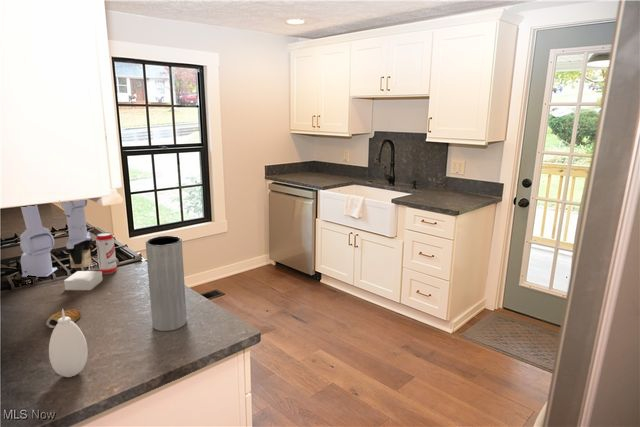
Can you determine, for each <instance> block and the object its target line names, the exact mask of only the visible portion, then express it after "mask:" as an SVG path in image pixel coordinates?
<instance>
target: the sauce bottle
mask: <svg viewBox="0 0 640 427" xmlns="http://www.w3.org/2000/svg"><path fill="white" fill-rule="evenodd" d="M61 311H62V318H60V319H58V324H57V325H56V326H55V328H53V330H52V332H51V335H50V338H49V345H48V357H49V362H50V364H51V367H52V369H53V370H54V371H55V372H56V374H58V375H60V376H61V377H65V378H71V377H72V376H73V377H75V376H77V375H78V374H80V372H81V371H82V370H83V369H84V367H85V365H86V363H87V360H88V355H89V354H88V352H89V350H88V343H87V340H86V337H85V335H84V333H83V331H82V330H81V329H80V328H79V327H80V326H78V325H77V323H76V322H73V321H71V318H70V317H65V314H64V311H65V310H64V308H62V309H61ZM73 377H72V378H73Z"/></svg>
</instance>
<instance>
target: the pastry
mask: <svg viewBox="0 0 640 427" xmlns="http://www.w3.org/2000/svg"><path fill="white" fill-rule="evenodd" d="M64 314H65V317H70V318H71V321H73V322H74V323H76V322H77V321H78V320H79V319H80V318H81V315H82V314H81V310H79V309H76V308H71V309H66V310H64ZM60 318H62V310H61V311H57V312H56V313H53V314H51V315H50V316H49V317H48V318H47V320H46V322H45V324H46V326H47V327H48V328H50V329H54V328H55V326H56V325H57V324H58V319H60Z"/></svg>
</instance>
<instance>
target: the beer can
mask: <svg viewBox="0 0 640 427" xmlns="http://www.w3.org/2000/svg"><path fill="white" fill-rule="evenodd" d="M95 243H96V244H95V245H96V253H97V261H98V271H102V275H111V274H113V273H115V272H116V271H117V269H118V267H117V258H116V249H115V247H116V246H115V239H114V236H113V235H112V232H111V231H110V232H109V231H106V232H100V233H97V234H96V238H95Z"/></svg>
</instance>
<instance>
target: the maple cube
mask: <svg viewBox="0 0 640 427" xmlns="http://www.w3.org/2000/svg"><path fill="white" fill-rule="evenodd" d="M69 261H70V262H69V263H70V268H73V269H74V268H75V269H76V268H77V269H78V268H79V269H80V268H82V269H83V268H87V267H89V265H91V264H92V256H91V250H90V249H89V250H83V251H82V263H81V264H74V262H73V259H72V257H71V255H70V254H69Z"/></svg>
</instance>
